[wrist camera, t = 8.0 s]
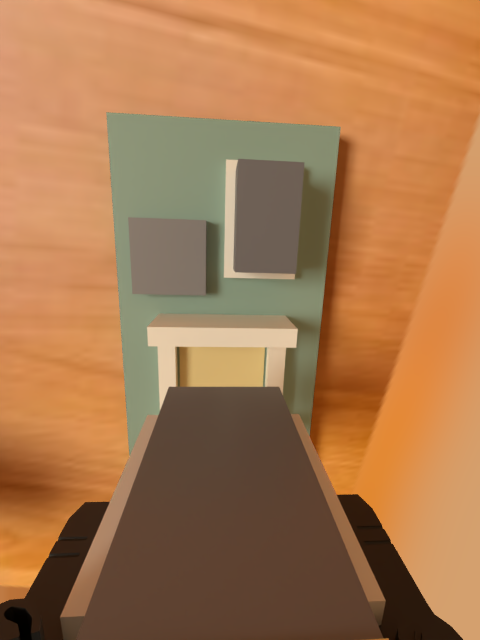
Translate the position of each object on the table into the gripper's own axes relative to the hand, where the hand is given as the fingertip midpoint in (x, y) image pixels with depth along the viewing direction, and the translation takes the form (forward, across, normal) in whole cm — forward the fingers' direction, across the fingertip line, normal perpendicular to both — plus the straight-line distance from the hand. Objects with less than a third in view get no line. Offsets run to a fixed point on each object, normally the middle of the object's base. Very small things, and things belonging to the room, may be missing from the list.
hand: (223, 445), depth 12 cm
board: (+8, 0, +3) cm, 9 cm away
